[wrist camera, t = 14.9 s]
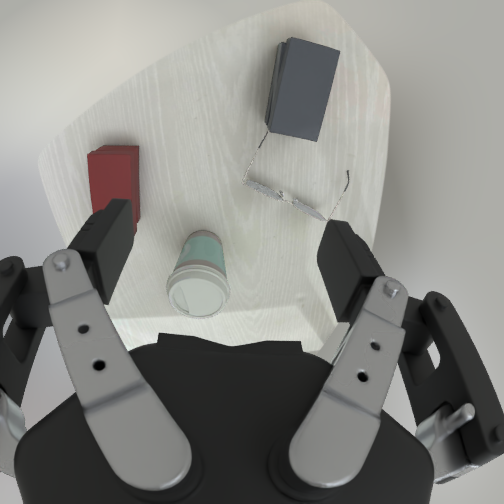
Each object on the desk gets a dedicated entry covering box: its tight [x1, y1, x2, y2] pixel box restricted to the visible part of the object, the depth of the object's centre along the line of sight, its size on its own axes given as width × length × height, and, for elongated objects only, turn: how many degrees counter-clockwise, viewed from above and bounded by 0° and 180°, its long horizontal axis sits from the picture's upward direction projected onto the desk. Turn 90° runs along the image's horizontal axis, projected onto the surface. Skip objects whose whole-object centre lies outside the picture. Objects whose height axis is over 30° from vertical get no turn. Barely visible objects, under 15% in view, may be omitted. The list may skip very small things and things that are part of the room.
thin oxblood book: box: [87, 151, 137, 236], centre depth 35 cm, size 12×6×2 cm, turn 171°
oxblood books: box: [96, 145, 140, 223], centre depth 37 cm, size 12×6×3 cm, turn 171°
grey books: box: [265, 37, 340, 142], centre depth 29 cm, size 12×6×7 cm, turn 171°
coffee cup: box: [167, 231, 230, 319], centre depth 41 cm, size 8×8×12 cm
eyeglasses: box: [242, 129, 349, 222], centre depth 38 cm, size 14×8×4 cm, turn 63°
